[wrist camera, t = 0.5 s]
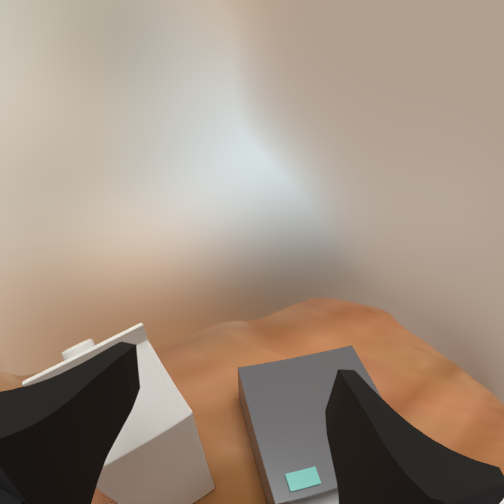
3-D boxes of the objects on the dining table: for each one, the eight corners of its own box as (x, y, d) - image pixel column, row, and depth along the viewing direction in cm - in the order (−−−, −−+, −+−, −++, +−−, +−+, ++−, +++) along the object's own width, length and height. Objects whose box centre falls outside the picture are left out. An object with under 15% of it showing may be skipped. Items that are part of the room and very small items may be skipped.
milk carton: (216, 488, 23) (182, 367, 13) (154, 527, 19) (43, 442, 9) (169, 438, 27) (114, 289, 17) (112, 471, 23) (9, 338, 13)
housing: (392, 476, 23) (415, 454, 20) (271, 515, 21) (275, 503, 18) (341, 375, 35) (352, 343, 32) (238, 396, 32) (237, 365, 29)
